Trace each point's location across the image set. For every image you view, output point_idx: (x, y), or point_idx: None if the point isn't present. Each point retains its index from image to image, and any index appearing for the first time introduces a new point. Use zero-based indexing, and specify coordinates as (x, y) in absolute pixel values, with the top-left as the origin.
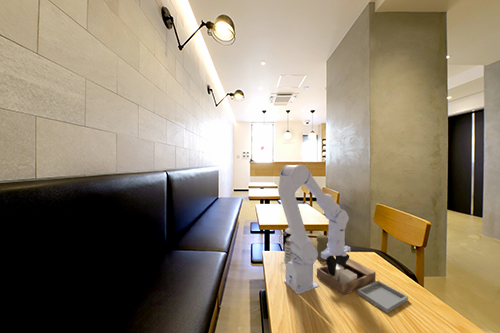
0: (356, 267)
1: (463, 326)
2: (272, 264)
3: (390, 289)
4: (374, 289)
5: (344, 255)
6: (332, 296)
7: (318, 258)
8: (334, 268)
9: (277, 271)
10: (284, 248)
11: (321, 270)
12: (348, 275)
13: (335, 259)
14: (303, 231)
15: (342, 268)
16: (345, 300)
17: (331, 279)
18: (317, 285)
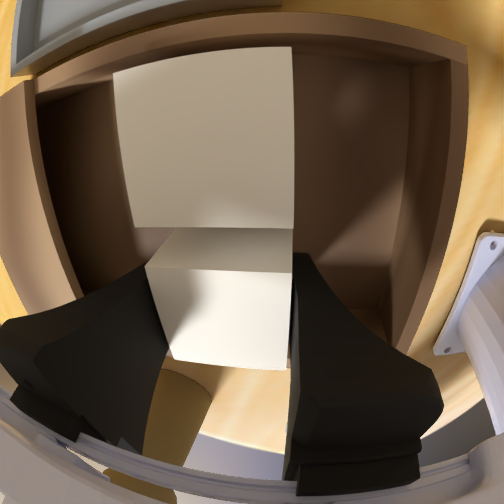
0: (28, 215)
1: None
2: (439, 420)
3: (28, 3)
4: (93, 15)
5: (63, 500)
6: (483, 113)
7: (204, 406)
8: (327, 298)
9: (473, 388)
10: None
11: (403, 336)
12: (255, 92)
13: (340, 430)
14: None
15: (175, 263)
16: (436, 30)
17: (449, 202)
18: (486, 240)
